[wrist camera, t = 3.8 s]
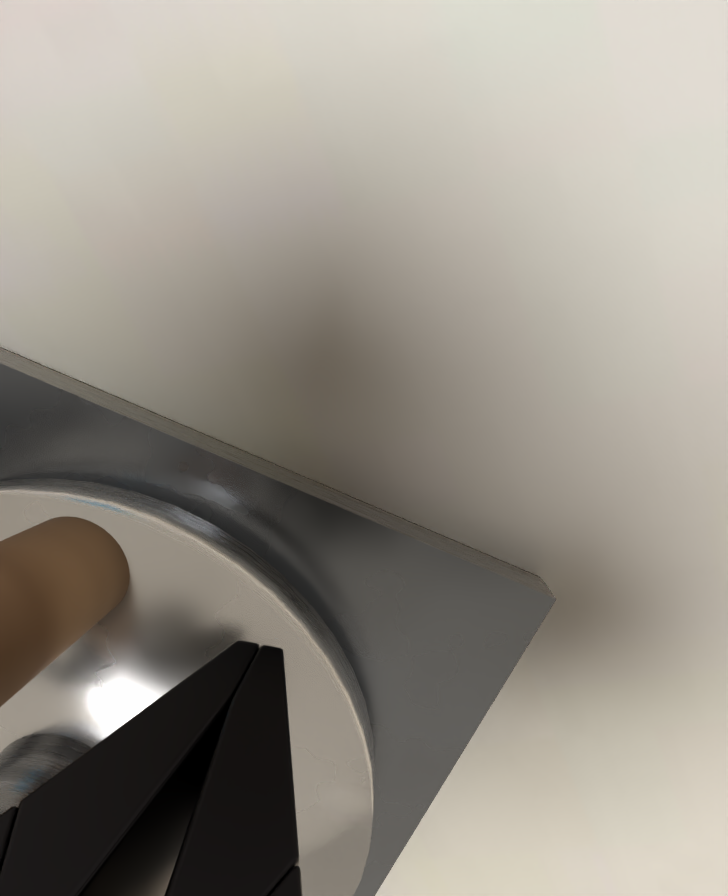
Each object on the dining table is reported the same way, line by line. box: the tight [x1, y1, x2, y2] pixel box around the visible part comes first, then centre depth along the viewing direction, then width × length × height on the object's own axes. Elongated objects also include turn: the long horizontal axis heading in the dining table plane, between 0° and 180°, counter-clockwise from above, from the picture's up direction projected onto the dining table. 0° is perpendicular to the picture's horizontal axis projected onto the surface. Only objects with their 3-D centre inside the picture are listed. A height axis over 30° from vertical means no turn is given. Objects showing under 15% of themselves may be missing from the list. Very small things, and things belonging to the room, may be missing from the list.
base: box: [0, 348, 556, 896], centre depth 10 cm, size 19×19×4 cm
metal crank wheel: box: [0, 478, 375, 896], centre depth 8 cm, size 16×17×5 cm
